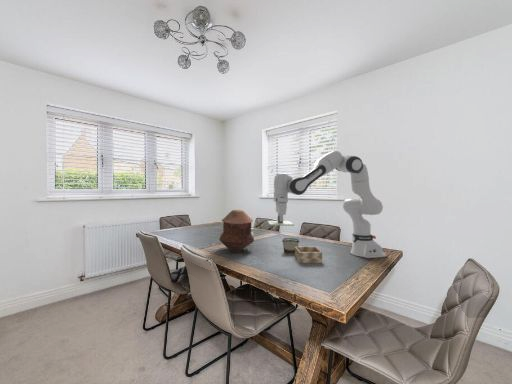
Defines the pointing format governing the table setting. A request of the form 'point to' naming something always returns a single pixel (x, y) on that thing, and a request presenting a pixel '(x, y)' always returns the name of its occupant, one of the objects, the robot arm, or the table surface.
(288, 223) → the lid
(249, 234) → the pottery vessel
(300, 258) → the box
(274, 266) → the table surface
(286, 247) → the food container
